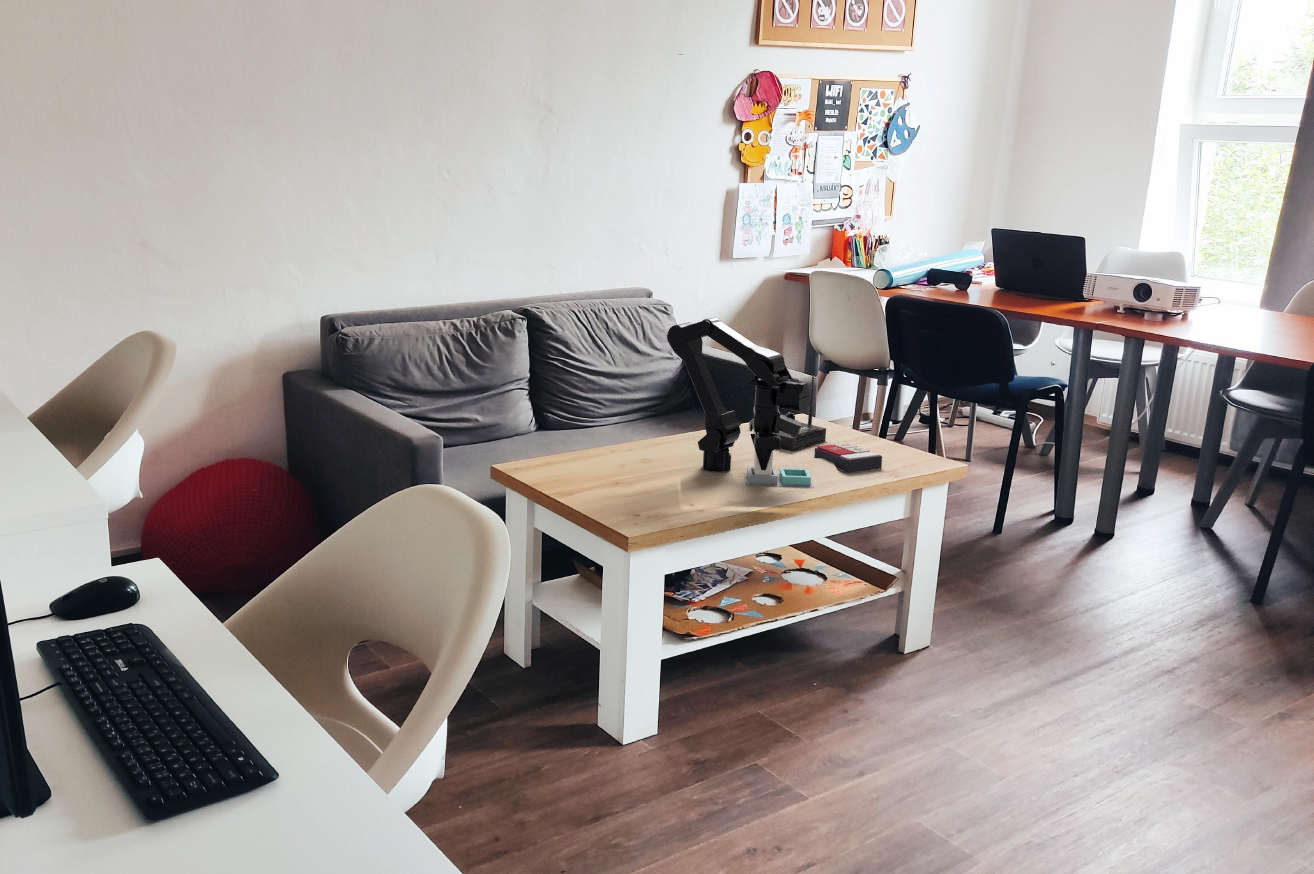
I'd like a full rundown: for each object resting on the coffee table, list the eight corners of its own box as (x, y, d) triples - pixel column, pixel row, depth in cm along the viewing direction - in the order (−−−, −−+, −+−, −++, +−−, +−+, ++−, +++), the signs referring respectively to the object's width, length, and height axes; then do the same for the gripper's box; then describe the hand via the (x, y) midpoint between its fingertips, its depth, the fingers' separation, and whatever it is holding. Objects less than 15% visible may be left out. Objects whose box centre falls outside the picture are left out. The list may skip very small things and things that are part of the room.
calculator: (847, 441, 294) (883, 453, 281) (847, 456, 295) (882, 469, 282) (814, 445, 289) (848, 457, 276) (813, 460, 290) (847, 473, 277)
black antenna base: (797, 453, 294) (801, 391, 289) (756, 442, 303) (759, 382, 298) (838, 440, 308) (843, 381, 303) (797, 430, 317) (801, 372, 312)
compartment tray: (746, 489, 261) (747, 477, 261) (743, 476, 271) (744, 465, 270) (813, 491, 262) (814, 479, 261) (808, 478, 271) (808, 467, 270)
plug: (754, 479, 264) (756, 451, 262) (753, 474, 268) (755, 447, 266) (771, 480, 264) (773, 452, 262) (769, 475, 268) (771, 447, 266)
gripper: (805, 416, 252) (800, 480, 256) (795, 397, 270) (791, 457, 274) (757, 414, 252) (753, 478, 256) (750, 395, 270) (747, 456, 274)
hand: (762, 467), depth 265 cm, fingers closed on plug, 4 cm apart
